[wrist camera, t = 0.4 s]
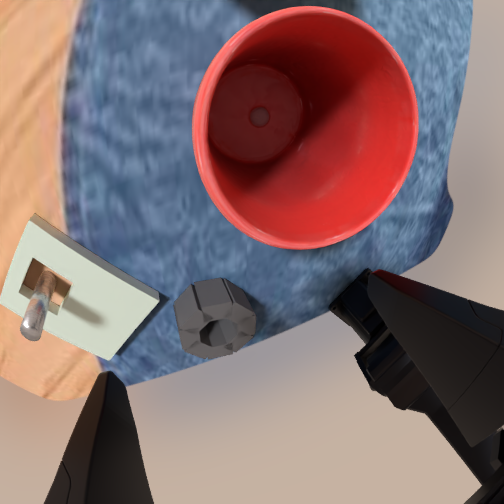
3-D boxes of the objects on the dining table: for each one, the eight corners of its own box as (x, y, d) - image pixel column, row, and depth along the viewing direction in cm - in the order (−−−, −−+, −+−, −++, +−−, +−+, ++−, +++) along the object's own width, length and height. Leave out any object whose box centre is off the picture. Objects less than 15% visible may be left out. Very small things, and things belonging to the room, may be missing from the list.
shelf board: (158, 291, 22) (159, 301, 21) (109, 351, 23) (109, 360, 22) (34, 213, 15) (29, 220, 14) (3, 293, 16) (-2, 302, 15)
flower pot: (313, 182, 22) (399, 237, 14) (175, 192, 19) (199, 270, 11) (324, 55, 16) (428, 50, 9) (173, 40, 13) (200, -18, 5)
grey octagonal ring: (257, 298, 26) (270, 321, 24) (212, 340, 27) (221, 365, 25) (206, 266, 22) (216, 290, 20) (160, 316, 23) (164, 343, 21)
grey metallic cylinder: (59, 277, 18) (43, 331, 13) (52, 290, 18) (37, 344, 14) (43, 267, 17) (23, 319, 12) (37, 281, 17) (18, 333, 13)
